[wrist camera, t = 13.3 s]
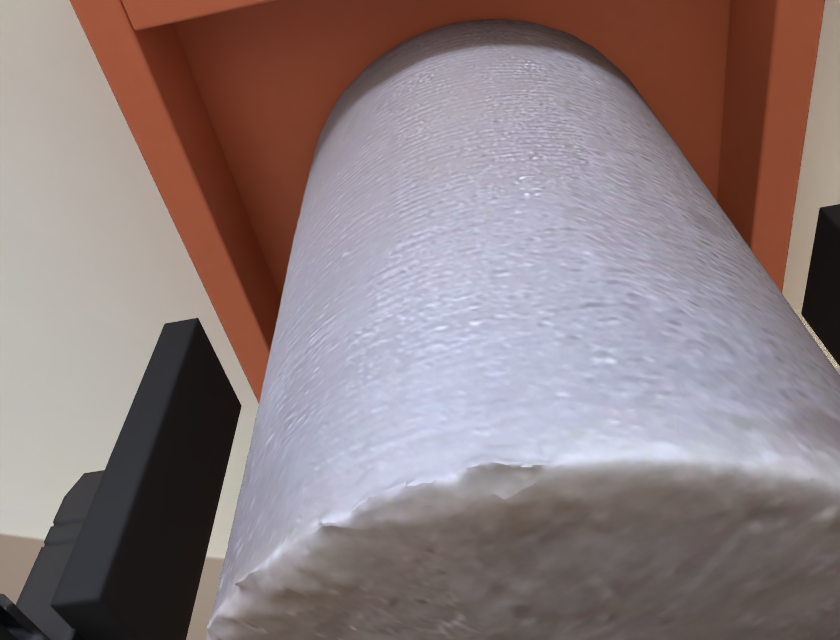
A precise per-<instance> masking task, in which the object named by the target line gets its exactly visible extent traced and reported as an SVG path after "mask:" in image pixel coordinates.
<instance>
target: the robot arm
mask: <svg viewBox="0 0 840 640" xmlns="http://www.w3.org/2000/svg"><path fill="white" fill-rule="evenodd" d="M802 316H803V317H804V318H805V320H806V321H807V323H808V324H809V325H810V327H811V328H812V329H813V331H814V332H815V333H816V335H817V336H818V337H819V339H820V340H821V341H822V343H823V344H824V346H825V347H826V348H827V350H828V351H829V352H830V354H831V355H832V356H833V358H834V359H835V360H836V362H837V363H838V364H839V366H840V204H839V205H833V206H827V207H822V208H820V210H819V215H818V221H817V227H816V233H815V239H814V244H813V250H812V256H811V262H810V267H809V273H808V279H807V285H806V290H805V296H804V302H803V308H802ZM240 410H241V404H240V402H239V400H238V398H237V396H236V394H235V392H234V390H233V388H232V386H231V384H230V382H229V380H228V378H227V376H226V374H225V372H224V370H223V368H222V366H221V363H220V361H219V359H218V357H217V355H216V353H215V351H214V349H213V347H212V345H211V343H210V341H209V339H208V337H207V335H206V333H205V331H204V329H203V327H202V325H201V323H200V321H199V319H198V318H195V319H189V320H183V321H178V322H172V323H166V324H165V325H164V327H163V329H162V332H161V334H160V337H159V339H158V342H157V344H156V347H155V349H154V351H153V354H152V356H151V359H150V361H149V364H148V366H147V369H146V371H145V373H144V376H143V378H142V381H141V383H140V386H139V388H138V391H137V393H136V395H135V398H134V400H133V403H132V405H131V408H130V410H129V412H128V415H127V417H126V420H125V422H124V425H123V427H122V430H121V432H120V434H119V437H118V439H117V442H116V444H115V447H114V449H113V452H112V454H111V456H110V459H109V461H108V464H107V466H106V469H105V470H103V471H97V472H90V473H84V474H83V476H82V477H81V478H80V479H79V480H78V481H77V483H76V484H75V485H74V486H73V487H72V488H71V490H70V491H69V492H68V493H67V494H66V496H65V497H64V499H63V501H62V503H61V505H60V508H59V510H58V512H57V514H56V516H55V519H54V521H53V523H54V526H52V527H51V528H50V530H49V532H48V534H47V536H46V539H45V541H44V543H45V546H44V547H42V548H41V550H40V552H39V554H38V557H37V559H36V561H35V563H34V565H33V568H32V570H31V572H30V575H29V577H28V579H27V581H26V583H25V585H24V588H23V590H22V592H21V594H20V597H19V599H18V601H17V603H16V605H15V604H14V603H13V602H12V601H11V600H9V598H8V597H6V596H5V595H4V594H0V640H186V637H187V633H188V628H189V624H190V620H191V616H192V612H193V607H194V603H195V599H196V595H197V590H198V586H199V582H200V578H201V574H202V569H203V565H204V561H205V557H206V553H207V548H208V544H209V540H210V536H211V532H212V527H213V523H214V519H215V515H216V511H217V506H218V502H219V498H220V494H221V490H222V485H223V481H224V477H225V473H226V469H227V464H228V460H229V456H230V452H231V448H232V443H233V439H234V435H235V431H236V426H237V422H238V418H239V414H240Z"/></svg>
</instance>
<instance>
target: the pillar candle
mask: <svg viewBox="0 0 840 640" xmlns="http://www.w3.org/2000/svg"><path fill="white" fill-rule="evenodd" d="M206 640H840V375H839V374H838V372H837V371H836V370H835V368H834V367H833V365H832V364H831V363H830V361H829V360H828V358H827V357H826V356H825V354H824V353H823V351H822V350H821V348H820V347H819V346H818V344H817V343H816V341H815V340H814V339H813V337H812V336H811V335H810V333H809V332H808V330H807V329H806V327H805V326H804V324H803V323H802V321H801V320H800V319H799V317H798V316H797V315H796V313H795V312H794V311H793V309H792V308H791V306H790V305H789V303H788V302H787V300H786V299H785V298H784V296H783V295H782V293H781V292H780V290H779V289H778V287H777V286H776V284H775V283H774V281H773V280H772V278H771V277H770V276H769V275H768V273H767V272H766V271H765V269H764V268H763V266H762V265H761V263H760V262H759V261H758V259H757V258H756V256H755V255H754V253H753V252H752V250H751V249H750V247H749V246H748V245H747V243H746V242H745V241H744V239H743V238H742V237H741V235H740V234H739V232H738V231H737V229H736V228H735V227H734V225H733V223H732V222H731V221H730V219H729V218H728V217H727V216H726V214H725V213H724V211H723V210H722V208H721V207H720V206H719V204H718V203H717V201H716V200H715V198H714V197H713V196H712V194H711V193H710V191H709V190H708V188H707V187H706V186H705V184H704V183H703V181H702V180H701V178H700V177H699V176H698V174H697V173H696V171H695V170H694V169H693V167H692V166H691V165H690V163H689V162H688V161H687V159H686V158H685V156H684V155H683V153H682V151H681V150H680V148H679V147H678V145H677V144H676V143H675V142H674V141H673V139H672V138H671V136H670V135H669V133H668V132H667V131H666V130H665V129H664V128H663V126H662V125H661V123H660V122H659V121H658V119H657V118H656V117H655V115H654V114H653V112H652V111H651V110H650V108H649V107H648V106H647V104H646V102H645V100H644V99H643V98H642V97H641V95H640V94H639V92H638V91H637V89H636V87H635V86H634V85H633V84H632V82H631V81H630V80H629V79H628V77H627V76H626V75H625V74H624V73H623V72H622V71H621V70H620V69H618V68H617V67H616V66H615V65H614V64H613V63H612V62H611V61H609V60H608V59H607V58H606V57H605V56H603V55H602V54H601V53H600V52H599V51H598V50H597V49H595V48H594V47H593V46H591V45H588V44H587V43H585V42H583V41H581V40H580V39H578V38H577V37H575V36H573V35H571V34H569V33H566V32H564V31H560V30H556V29H553V28H551V27H548V26H544V25H540V24H537V23H532V22H526V21H516V20H505V19H500V20H499V19H483V20H472V21H466V22H461V23H456V24H450V25H445V26H442V27H439V28H436V29H433V30H430V31H427V32H425V33H423V34H421V35H418V36H415V37H413V38H411V39H409V40H407V41H404V42H403V43H401V44H399V45H398V46H397V47H395V48H394V49H392V50H390V51H388V52H386V53H385V54H383V55H382V56H381V57H379V58H378V59H377V60H375V61H374V62H373V63H371V64H370V65H369V66H368V67H367V68H366V69H365V70H364V71H363V72H362V73H361V74H360V75H359V76H358V77H357V78H356V79H355V80H354V81H353V82H352V83H351V84H350V85H349V87H348V88H347V89H346V90H345V91H344V92H343V93H342V95H341V96H340V98H339V100H338V101H337V103H336V104H335V106H334V108H333V110H332V111H331V113H330V115H329V117H328V119H327V121H326V123H325V125H324V127H323V129H322V132H321V134H320V137H319V140H318V143H317V146H316V149H315V153H314V157H313V161H312V165H311V168H310V172H309V177H308V181H307V185H306V189H305V193H304V197H303V202H302V206H301V210H300V216H299V219H298V223H297V228H296V232H295V235H294V240H293V245H292V250H291V255H290V259H289V264H288V268H287V274H286V279H285V284H284V288H283V293H282V298H281V303H280V308H279V314H278V318H277V322H276V327H275V332H274V336H273V341H272V345H271V350H270V355H269V360H268V364H267V369H266V374H265V379H264V383H263V387H262V392H261V398H260V403H259V407H258V412H257V415H256V419H255V424H254V429H253V434H252V440H251V445H250V449H249V453H248V457H247V461H246V466H245V472H244V477H243V481H242V485H241V489H240V493H239V497H238V501H237V506H236V511H235V516H234V521H233V525H232V529H231V534H230V538H229V543H228V548H227V552H226V556H225V560H224V565H223V569H222V573H221V578H220V584H219V588H218V592H217V596H216V600H215V604H214V608H213V611H212V615H211V618H210V622H209V623H208V626H207V636H206Z"/></svg>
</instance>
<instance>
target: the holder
mask: <svg viewBox="0 0 840 640" xmlns="http://www.w3.org/2000/svg"><path fill="white" fill-rule="evenodd" d="M70 2H71V4H72V6H73V9H74V11H75V13H76V15H77V17H78V19H79V21H80V23H81V26H82V28H83V30H84V32H85V34H86V36H87V38H88V40H89V43H90V45H91V47H92V49H93V51H94V53H95V55H96V58H97V60H98V62H99V64H100V66H101V68H102V70H103V72H104V75H105V77H106V79H107V81H108V83H109V85H110V87H111V89H112V92H113V94H114V96H115V98H116V100H117V102H118V104H119V107H120V109H121V111H122V113H123V115H124V117H125V119H126V121H127V124H128V126H129V128H130V130H131V132H132V134H133V136H134V138H135V141H136V143H137V145H138V147H139V149H140V151H141V153H142V156H143V158H144V160H145V162H146V164H147V166H148V168H149V170H150V173H151V175H152V177H153V179H154V181H155V183H156V185H157V187H158V190H159V192H160V194H161V196H162V198H163V200H164V202H165V205H166V207H167V209H168V211H169V213H170V215H171V217H172V219H173V222H174V224H175V226H176V228H177V230H178V232H179V234H180V236H181V239H182V241H183V243H184V245H185V247H186V249H187V251H188V254H189V256H190V258H191V260H192V262H193V264H194V266H195V268H196V271H197V273H198V275H199V277H200V279H201V281H202V283H203V286H204V288H205V290H206V292H207V294H208V296H209V298H210V300H211V303H212V305H213V307H214V309H215V311H216V313H217V315H218V317H219V320H220V322H221V324H222V326H223V328H224V330H225V332H226V335H227V337H228V339H229V341H230V343H231V345H232V347H233V349H234V352H235V354H236V356H237V358H238V360H239V362H240V364H241V366H242V369H243V371H244V373H245V375H246V377H247V379H248V381H249V384H250V386H251V388H252V390H253V392H254V394H255V396H256V398H257V401H258V403H260V398H261V392H262V387H263V383H264V379H265V374H266V369H267V364H268V360H269V355H270V350H271V345H272V341H273V336H274V332H275V327H276V322H277V318H278V314H279V308H280V303H281V298H282V293H283V288H284V284H285V279H286V274H287V268H288V264H289V259H290V255H291V250H292V245H293V240H294V235H295V232H296V228H297V223H298V219H299V216H300V210H301V206H302V202H303V197H304V193H305V189H306V185H307V181H308V177H309V172H310V168H311V165H312V161H313V157H314V153H315V149H316V146H317V143H318V140H319V137H320V134H321V132H322V129H323V127H324V125H325V123H326V121H327V119H328V117H329V115H330V113H331V111H332V110H333V108H334V106H335V104H336V103H337V101H338V100H339V98H340V96H341V95H342V93H343V92H344V91H345V90H346V89H347V88H348V87H349V85H350V84H351V83H352V82H353V81H354V80H355V79H356V78H357V77H358V76H359V75H360V74H361V73H362V72H363V71H364V70H365V69H366V68H367V67H368V66H369V65H370V64H371V63H373V62H374V61H375V60H377V59H378V58H379V57H381V56H382V55H383V54H385V53H386V52H388V51H390V50H392V49H394V48H395V47H397V46H398V45H399V44H401V43H403V42H404V41H407V40H409V39H411V38H413V37H415V36H418V35H421V34H423V33H425V32H427V31H430V30H433V29H436V28H439V27H442V26H445V25H450V24H456V23H461V22H466V21H472V20H483V19H499V20H500V19H505V20H516V21H526V22H532V23H537V24H540V25H544V26H548V27H551V28H553V29H556V30H560V31H564V32H566V33H569V34H571V35H573V36H575V37H577V38H578V39H580V40H581V41H583V42H585V43H587V44H588V45H591V46H593V47H594V48H595V49H597V50H598V51H599V52H600V53H601V54H602V55H603V56H605V57H606V58H607V59H608V60H609V61H611V62H612V63H613V64H614V65H615V66H616V67H617V68H618V69H620V70H621V71H622V72H623V73H624V74H625V75H626V76H627V77H628V79H629V80H630V81H631V82H632V84H633V85H634V86H635V87H636V89H637V91H638V92H639V94H640V95H641V97H642V98H643V99H644V100H645V102H646V104H647V106H648V107H649V108H650V110H651V111H652V112H653V114H654V115H655V117H656V118H657V119H658V121H659V122H660V123H661V125H662V126H663V128H664V129H665V130H666V131H667V132H668V133H669V135H670V136H671V138H672V139H673V141H674V142H675V143H676V144H677V145H678V147H679V148H680V150H681V151H682V153H683V155H684V156H685V158H686V159H687V161H688V162H689V163H690V165H691V166H692V167H693V169H694V170H695V171H696V173H697V174H698V176H699V177H700V178H701V180H702V181H703V183H704V184H705V186H706V187H707V188H708V190H709V191H710V193H711V194H712V196H713V197H714V198H715V200H716V201H717V203H718V204H719V206H720V207H721V208H722V210H723V211H724V213H725V214H726V216H727V217H728V218H729V219H730V221H731V222H732V223H733V225H734V227H735V228H736V229H737V231H738V232H739V234H740V235H741V237H742V238H743V239H744V241H745V242H746V243H747V245H748V246H749V247H750V249H751V250H752V252H753V253H754V255H755V256H756V258H757V259H758V261H759V262H760V263H761V265H762V266H763V268H764V269H765V271H766V272H767V273H768V275H769V276H770V277H771V278H772V280H773V281H774V283H775V284H776V286H777V287H778V289H779V290H780V292H781V293H782V288H783V282H784V275H785V268H786V261H787V255H788V248H789V241H790V234H791V227H792V221H793V214H794V207H795V200H796V193H797V187H798V180H799V173H800V166H801V160H802V153H803V146H804V139H805V132H806V126H807V119H808V112H809V105H810V98H811V92H812V85H813V78H814V71H815V64H816V58H817V51H818V44H819V37H820V31H821V24H822V17H823V10H824V3H825V0H70Z"/></svg>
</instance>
